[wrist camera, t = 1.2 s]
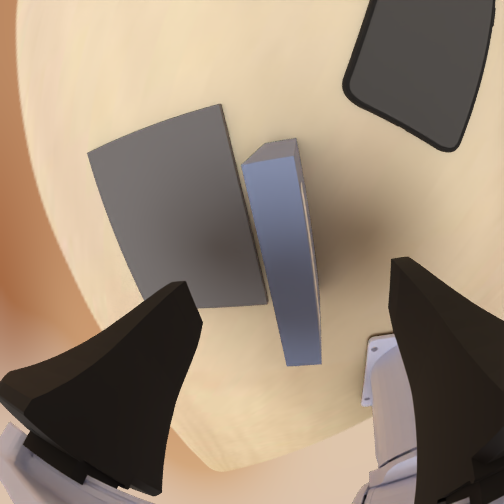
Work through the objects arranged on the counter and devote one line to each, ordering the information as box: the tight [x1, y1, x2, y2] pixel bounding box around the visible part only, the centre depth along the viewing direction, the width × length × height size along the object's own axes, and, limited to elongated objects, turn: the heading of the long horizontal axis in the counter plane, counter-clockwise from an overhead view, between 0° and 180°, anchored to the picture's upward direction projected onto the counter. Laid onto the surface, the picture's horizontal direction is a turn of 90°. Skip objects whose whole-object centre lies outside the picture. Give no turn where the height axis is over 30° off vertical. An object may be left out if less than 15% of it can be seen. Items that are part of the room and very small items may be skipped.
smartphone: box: [342, 0, 496, 152], centre depth 8 cm, size 7×1×15 cm
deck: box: [241, 138, 322, 366], centre depth 13 cm, size 9×2×6 cm, turn 12°
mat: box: [87, 104, 268, 308], centre depth 16 cm, size 12×9×1 cm
